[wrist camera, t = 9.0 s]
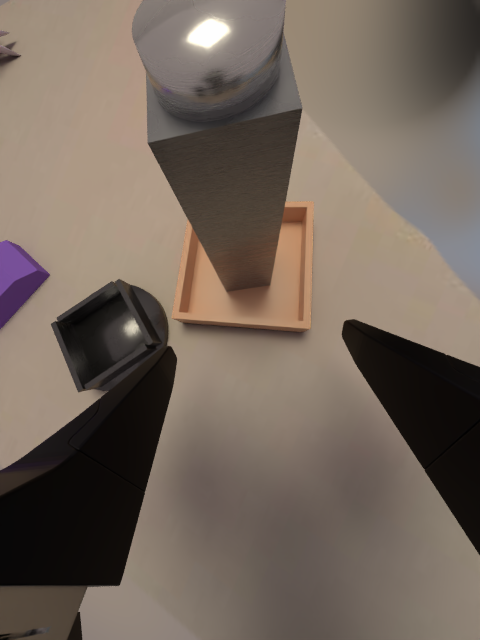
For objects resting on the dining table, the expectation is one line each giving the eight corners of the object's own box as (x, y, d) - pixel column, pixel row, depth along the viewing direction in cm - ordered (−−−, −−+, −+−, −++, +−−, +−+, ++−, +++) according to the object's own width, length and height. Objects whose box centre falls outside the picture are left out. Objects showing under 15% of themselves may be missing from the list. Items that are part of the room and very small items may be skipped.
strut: (270, 285, 18) (313, 45, 4) (226, 291, 18) (121, 93, 4) (263, 245, 18) (280, -68, 5) (222, 252, 19) (123, -20, 5)
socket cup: (186, 349, 18) (176, 349, 15) (95, 410, 18) (70, 419, 15) (140, 268, 20) (124, 257, 18) (59, 322, 20) (32, 318, 18)
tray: (303, 332, 17) (310, 328, 15) (183, 322, 18) (171, 318, 16) (306, 220, 19) (313, 201, 17) (198, 220, 20) (190, 202, 18)
